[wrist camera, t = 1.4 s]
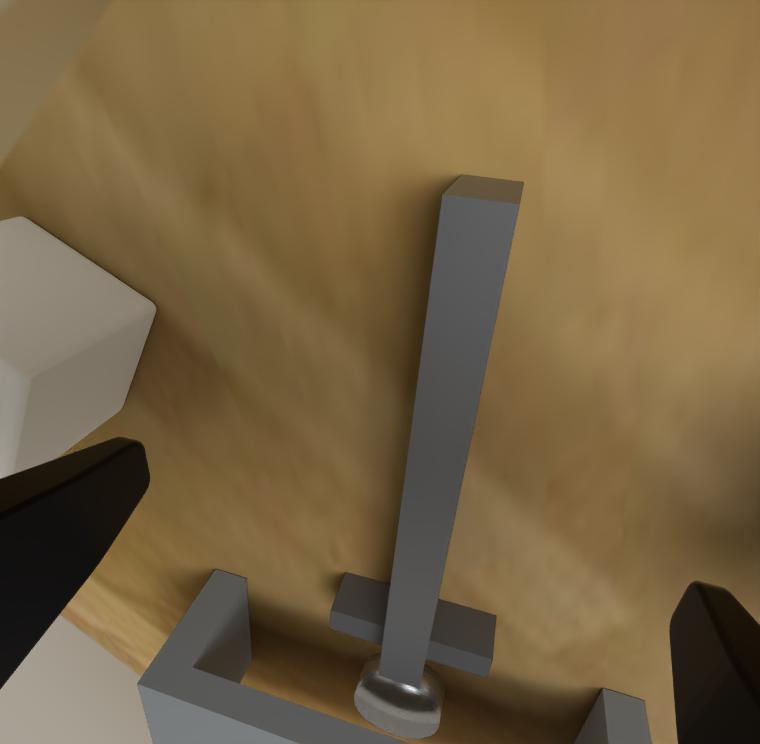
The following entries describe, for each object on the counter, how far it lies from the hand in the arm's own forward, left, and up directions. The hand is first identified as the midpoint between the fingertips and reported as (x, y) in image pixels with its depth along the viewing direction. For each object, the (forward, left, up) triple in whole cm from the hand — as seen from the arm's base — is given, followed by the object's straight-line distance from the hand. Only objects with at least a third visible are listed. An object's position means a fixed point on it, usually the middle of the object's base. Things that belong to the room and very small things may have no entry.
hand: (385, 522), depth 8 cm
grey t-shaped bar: (0, +7, -12) cm, 14 cm away
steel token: (0, +25, -12) cm, 28 cm away
